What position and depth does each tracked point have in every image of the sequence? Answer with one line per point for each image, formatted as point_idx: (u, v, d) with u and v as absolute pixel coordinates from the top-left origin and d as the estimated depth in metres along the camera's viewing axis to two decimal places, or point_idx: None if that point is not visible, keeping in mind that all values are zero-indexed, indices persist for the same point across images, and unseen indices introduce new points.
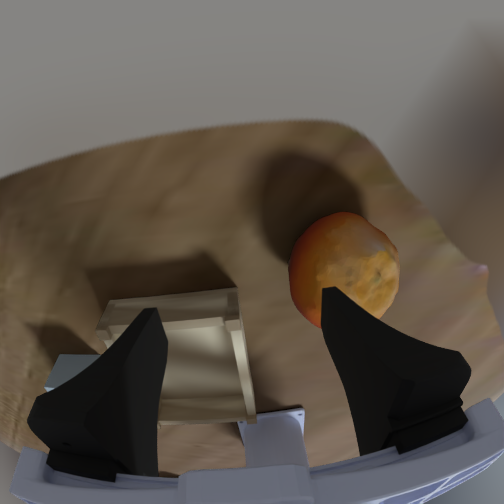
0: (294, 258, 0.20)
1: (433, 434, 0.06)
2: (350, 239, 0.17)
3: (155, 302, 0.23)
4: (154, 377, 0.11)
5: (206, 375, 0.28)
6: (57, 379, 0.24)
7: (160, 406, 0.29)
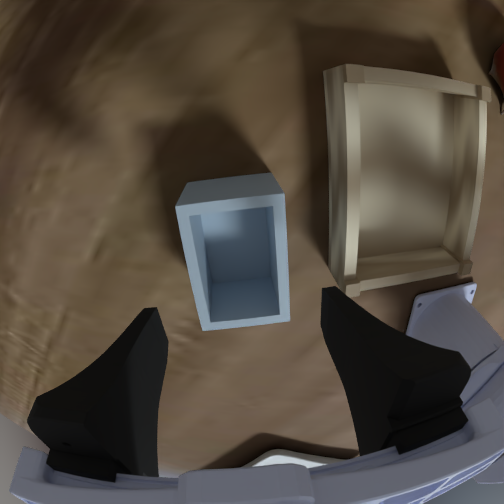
0: None
1: (433, 434, 0.06)
2: None
3: None
4: (154, 377, 0.11)
5: (415, 205, 0.20)
6: (203, 196, 0.16)
7: None
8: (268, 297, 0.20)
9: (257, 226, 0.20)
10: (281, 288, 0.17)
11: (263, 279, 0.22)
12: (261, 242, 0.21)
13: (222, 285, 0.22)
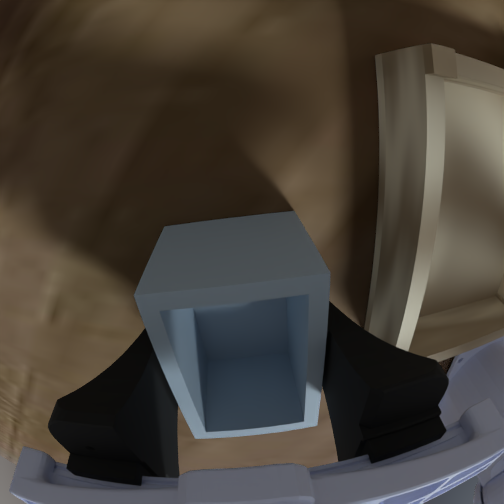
0: None
1: (408, 445, 0.06)
2: None
3: None
4: None
5: (478, 250, 0.14)
6: (184, 269, 0.09)
7: None
8: (286, 390, 0.13)
9: None
10: (309, 396, 0.11)
11: (277, 357, 0.15)
12: (277, 312, 0.14)
13: (221, 365, 0.15)
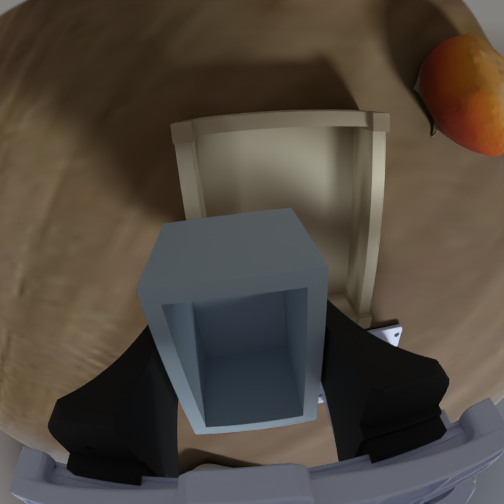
0: (435, 60, 0.13)
1: (408, 444, 0.06)
2: (486, 42, 0.10)
3: None
4: None
5: None
6: (185, 264, 0.09)
7: None
8: (285, 385, 0.13)
9: None
10: (308, 390, 0.11)
11: (275, 353, 0.15)
12: (275, 308, 0.14)
13: (220, 361, 0.15)
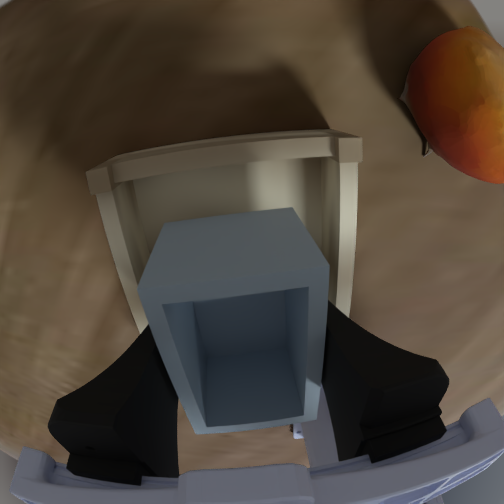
0: (426, 63, 0.10)
1: (408, 444, 0.06)
2: (492, 38, 0.08)
3: (199, 141, 0.14)
4: None
5: None
6: (186, 263, 0.09)
7: None
8: (285, 384, 0.13)
9: None
10: (309, 389, 0.11)
11: (276, 352, 0.15)
12: (275, 307, 0.14)
13: (220, 361, 0.15)
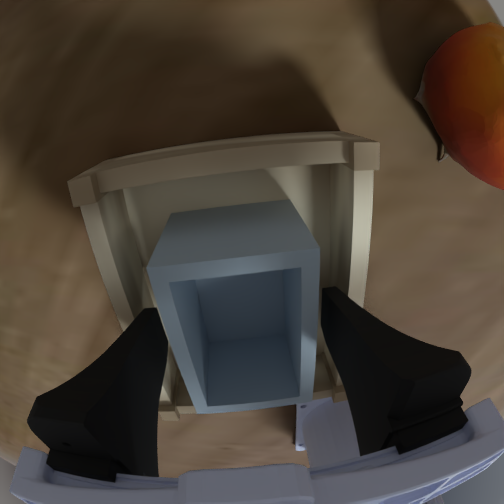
0: (446, 60, 0.09)
1: (433, 435, 0.06)
2: None
3: (195, 145, 0.12)
4: (154, 377, 0.11)
5: None
6: (191, 246, 0.10)
7: (179, 381, 0.17)
8: (283, 367, 0.14)
9: (269, 274, 0.15)
10: (304, 369, 0.12)
11: (275, 338, 0.16)
12: (274, 294, 0.15)
13: (222, 346, 0.16)
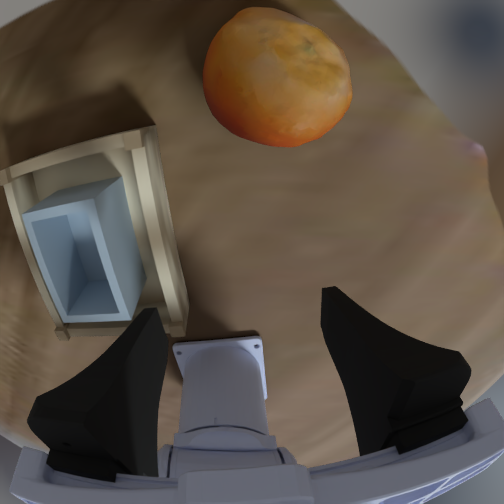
0: None
1: (433, 434, 0.06)
2: (267, 10, 0.11)
3: (65, 147, 0.17)
4: (154, 377, 0.11)
5: None
6: (46, 204, 0.15)
7: None
8: None
9: None
10: (112, 287, 0.17)
11: None
12: None
13: (94, 283, 0.21)
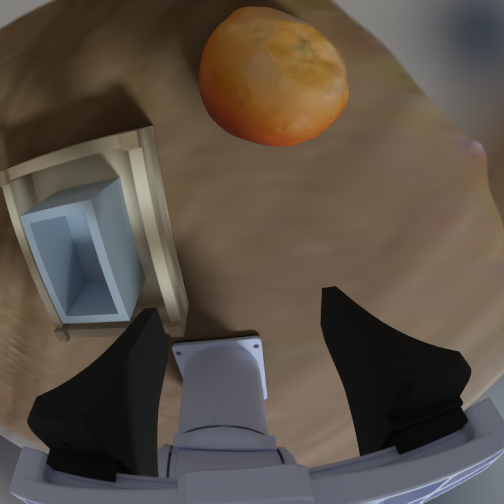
0: None
1: (433, 435, 0.06)
2: (262, 9, 0.11)
3: (63, 148, 0.17)
4: (154, 377, 0.11)
5: None
6: (44, 205, 0.15)
7: None
8: None
9: None
10: (110, 288, 0.17)
11: None
12: None
13: (93, 284, 0.21)
